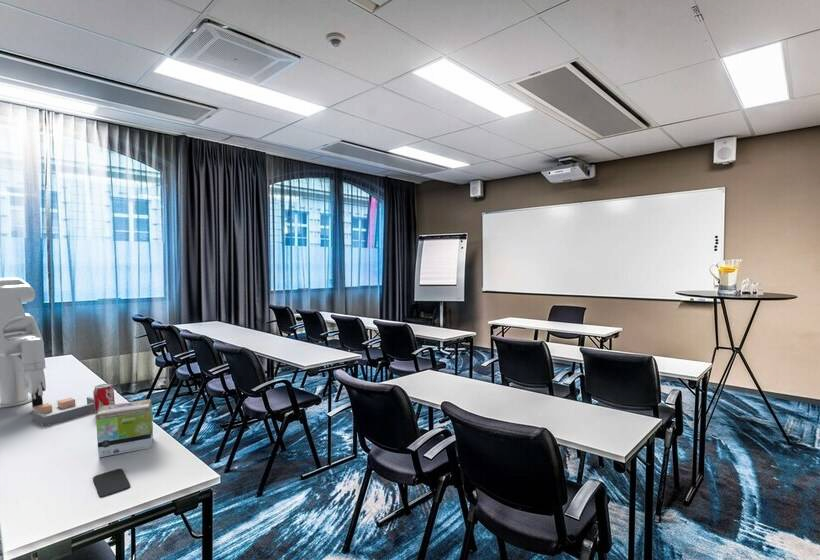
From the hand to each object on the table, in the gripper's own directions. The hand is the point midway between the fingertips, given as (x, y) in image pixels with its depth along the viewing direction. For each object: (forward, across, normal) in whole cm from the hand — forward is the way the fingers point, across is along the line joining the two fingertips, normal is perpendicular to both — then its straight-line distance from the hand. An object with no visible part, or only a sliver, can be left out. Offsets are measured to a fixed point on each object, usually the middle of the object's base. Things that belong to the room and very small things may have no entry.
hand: (37, 407), depth 187 cm
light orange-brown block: (+1, +7, 0) cm, 7 cm away
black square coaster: (+2, +100, -14) cm, 101 cm away
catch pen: (+1, +21, +4) cm, 21 cm away
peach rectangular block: (+1, +7, +8) cm, 11 cm away
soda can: (+2, +34, +12) cm, 36 cm away
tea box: (+2, +79, 0) cm, 79 cm away
